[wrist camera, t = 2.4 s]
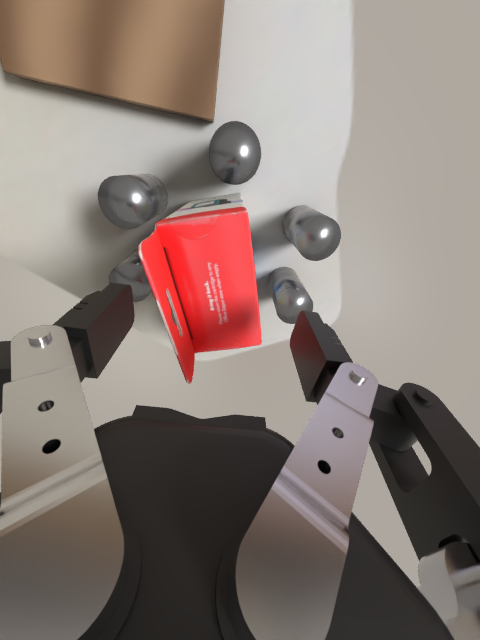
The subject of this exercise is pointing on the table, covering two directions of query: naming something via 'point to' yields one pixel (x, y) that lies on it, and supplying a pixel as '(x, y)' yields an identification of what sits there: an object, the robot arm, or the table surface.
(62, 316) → the robot arm
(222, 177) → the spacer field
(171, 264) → the ink box
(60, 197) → the table surface
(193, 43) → the walnut board
